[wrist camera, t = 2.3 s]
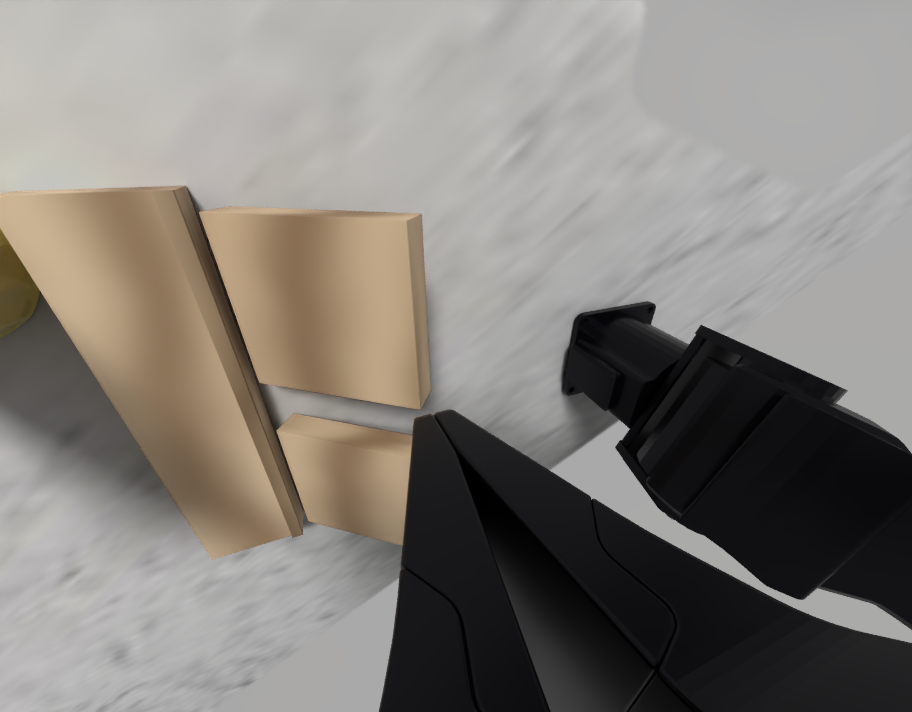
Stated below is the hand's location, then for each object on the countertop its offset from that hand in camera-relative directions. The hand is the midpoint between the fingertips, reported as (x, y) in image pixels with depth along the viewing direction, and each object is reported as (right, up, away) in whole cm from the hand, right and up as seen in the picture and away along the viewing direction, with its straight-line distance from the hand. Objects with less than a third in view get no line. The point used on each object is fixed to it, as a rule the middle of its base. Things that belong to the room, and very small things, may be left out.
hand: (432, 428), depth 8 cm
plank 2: (-4, -5, +13) cm, 14 cm away
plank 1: (-5, +4, +7) cm, 9 cm away
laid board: (-12, -1, +10) cm, 16 cm away
